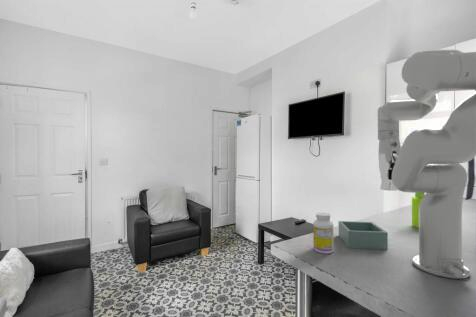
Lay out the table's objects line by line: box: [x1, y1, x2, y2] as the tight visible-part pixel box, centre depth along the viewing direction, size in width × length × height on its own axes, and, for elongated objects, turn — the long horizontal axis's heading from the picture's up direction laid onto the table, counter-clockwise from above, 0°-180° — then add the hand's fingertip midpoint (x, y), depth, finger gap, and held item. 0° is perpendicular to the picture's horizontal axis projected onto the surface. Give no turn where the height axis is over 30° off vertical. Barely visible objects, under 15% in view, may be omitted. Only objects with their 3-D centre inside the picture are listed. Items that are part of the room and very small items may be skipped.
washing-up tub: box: [338, 220, 389, 251], centre depth 89 cm, size 13×13×6 cm
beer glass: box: [378, 153, 399, 192], centre depth 97 cm, size 7×7×15 cm
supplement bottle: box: [312, 212, 335, 255], centre depth 82 cm, size 7×7×13 cm
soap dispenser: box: [411, 193, 426, 229], centre depth 107 cm, size 6×7×20 cm
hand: (388, 178), depth 97 cm, fingers closed on beer glass, 6 cm apart
